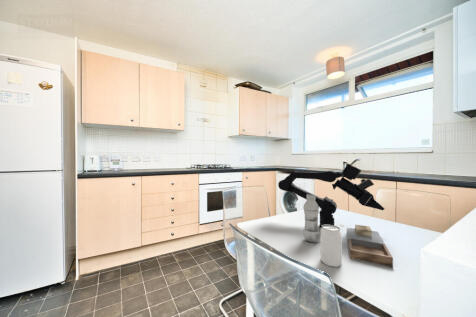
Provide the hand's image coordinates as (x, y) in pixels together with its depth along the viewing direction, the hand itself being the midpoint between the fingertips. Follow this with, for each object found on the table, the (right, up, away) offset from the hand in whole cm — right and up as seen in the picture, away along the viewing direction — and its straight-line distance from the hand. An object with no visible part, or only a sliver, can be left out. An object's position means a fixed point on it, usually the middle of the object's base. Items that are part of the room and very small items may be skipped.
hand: (381, 207), depth 86 cm
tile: (-12, -10, -5) cm, 16 cm away
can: (-35, -13, -22) cm, 43 cm away
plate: (-13, -13, -6) cm, 19 cm away
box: (-19, -13, -18) cm, 29 cm away
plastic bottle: (-35, -13, -5) cm, 38 cm away
